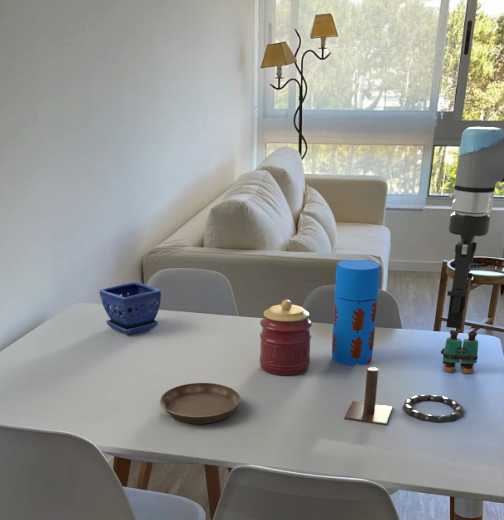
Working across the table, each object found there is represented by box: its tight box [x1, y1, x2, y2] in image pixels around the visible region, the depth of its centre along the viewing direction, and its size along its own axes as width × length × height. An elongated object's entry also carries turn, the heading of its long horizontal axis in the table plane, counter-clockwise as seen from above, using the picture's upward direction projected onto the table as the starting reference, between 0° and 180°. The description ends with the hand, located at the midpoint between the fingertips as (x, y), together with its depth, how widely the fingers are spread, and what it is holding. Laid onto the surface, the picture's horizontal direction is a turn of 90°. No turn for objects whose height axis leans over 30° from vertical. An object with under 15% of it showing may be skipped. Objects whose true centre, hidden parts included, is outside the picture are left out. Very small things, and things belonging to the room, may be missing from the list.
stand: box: [343, 366, 394, 426], centre depth 152 cm, size 9×9×12 cm
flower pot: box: [99, 281, 162, 336], centre depth 206 cm, size 13×13×12 cm
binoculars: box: [440, 329, 479, 374], centre depth 180 cm, size 9×11×10 cm
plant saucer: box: [159, 382, 241, 425], centre depth 157 cm, size 18×18×3 cm
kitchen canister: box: [259, 299, 313, 376], centre depth 178 cm, size 13×13×18 cm
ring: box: [402, 394, 465, 424], centre depth 156 cm, size 13×13×2 cm
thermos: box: [331, 259, 381, 366], centre depth 182 cm, size 11×11×25 cm
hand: (455, 317), depth 147 cm, fingers open, 13 cm apart
